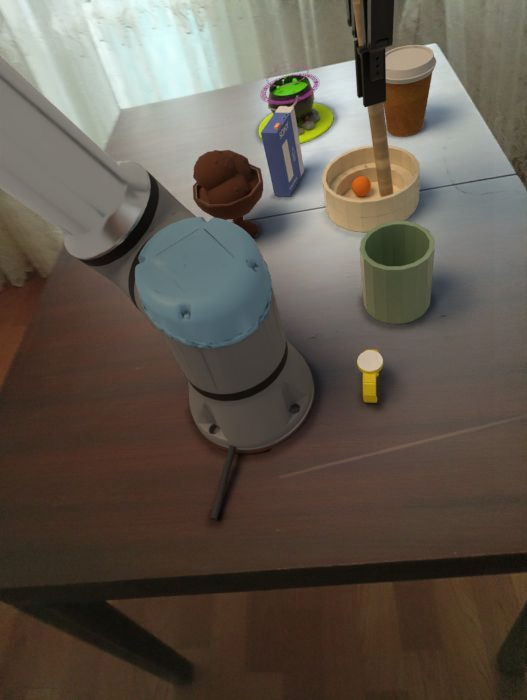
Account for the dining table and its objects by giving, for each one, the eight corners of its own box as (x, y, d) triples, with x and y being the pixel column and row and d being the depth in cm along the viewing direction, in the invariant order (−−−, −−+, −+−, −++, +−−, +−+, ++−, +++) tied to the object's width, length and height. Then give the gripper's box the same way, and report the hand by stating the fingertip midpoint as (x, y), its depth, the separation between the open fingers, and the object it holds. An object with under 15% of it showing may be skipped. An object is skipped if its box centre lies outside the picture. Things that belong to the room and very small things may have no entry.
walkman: (289, 197, 85) (276, 130, 75) (274, 196, 86) (259, 130, 76) (305, 169, 89) (294, 103, 79) (291, 169, 90) (278, 103, 80)
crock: (440, 316, 63) (446, 257, 55) (375, 333, 63) (372, 277, 56) (416, 273, 68) (419, 213, 60) (356, 289, 69) (351, 232, 61)
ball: (373, 197, 79) (368, 184, 76) (354, 202, 80) (349, 189, 78) (372, 183, 80) (367, 169, 78) (354, 188, 81) (349, 175, 79)
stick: (393, 196, 73) (370, -1, 53) (379, 198, 74) (352, 4, 54) (393, 188, 74) (371, -9, 54) (379, 190, 75) (353, -4, 55)
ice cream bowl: (269, 254, 77) (246, 169, 65) (202, 256, 80) (169, 174, 68) (281, 210, 83) (262, 125, 71) (218, 213, 86) (190, 132, 74)
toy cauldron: (249, 121, 103) (236, 66, 95) (317, 96, 104) (309, 39, 95) (271, 154, 94) (259, 96, 85) (345, 127, 94) (340, 66, 86)
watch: (361, 367, 61) (358, 337, 56) (385, 368, 60) (384, 337, 55) (358, 410, 57) (355, 381, 53) (383, 411, 56) (382, 382, 52)
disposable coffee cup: (374, 142, 89) (371, 73, 80) (382, 114, 94) (380, 46, 85) (429, 141, 86) (433, 69, 77) (435, 111, 91) (439, 40, 82)
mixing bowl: (432, 219, 74) (434, 184, 69) (339, 245, 75) (335, 212, 70) (400, 169, 83) (400, 135, 78) (317, 192, 84) (313, 160, 79)
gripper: (434, -168, 40) (422, 117, 58) (376, -183, 49) (381, 66, 67) (342, -139, 40) (359, 135, 58) (303, -159, 50) (327, 82, 68)
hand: (371, 98), depth 63 cm, fingers closed on stick, 2 cm apart
